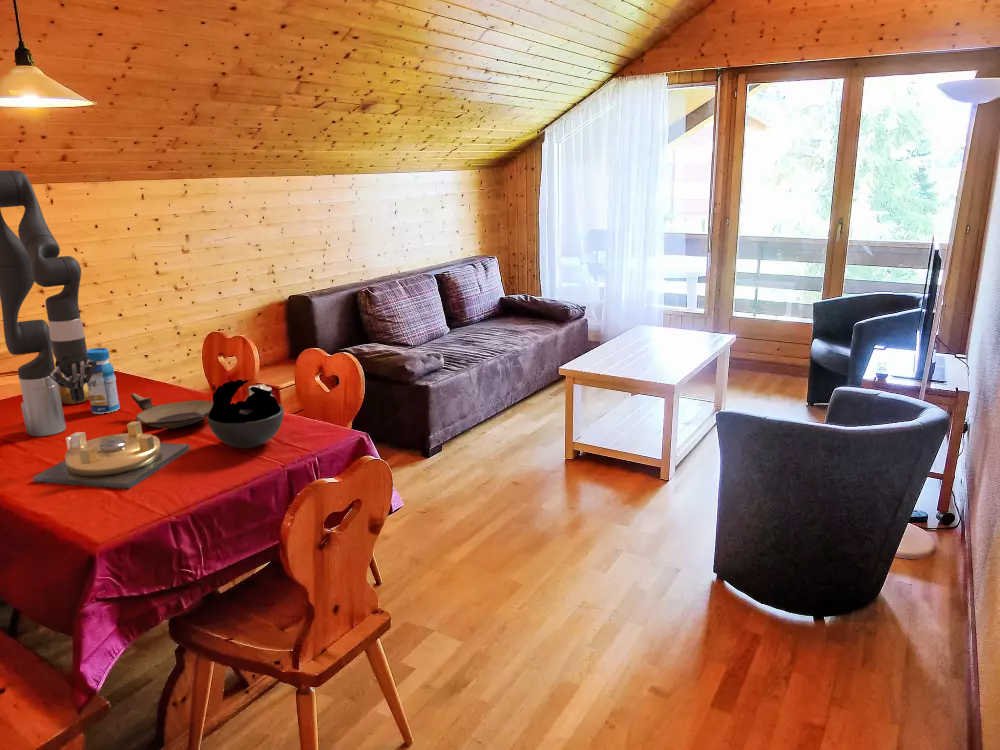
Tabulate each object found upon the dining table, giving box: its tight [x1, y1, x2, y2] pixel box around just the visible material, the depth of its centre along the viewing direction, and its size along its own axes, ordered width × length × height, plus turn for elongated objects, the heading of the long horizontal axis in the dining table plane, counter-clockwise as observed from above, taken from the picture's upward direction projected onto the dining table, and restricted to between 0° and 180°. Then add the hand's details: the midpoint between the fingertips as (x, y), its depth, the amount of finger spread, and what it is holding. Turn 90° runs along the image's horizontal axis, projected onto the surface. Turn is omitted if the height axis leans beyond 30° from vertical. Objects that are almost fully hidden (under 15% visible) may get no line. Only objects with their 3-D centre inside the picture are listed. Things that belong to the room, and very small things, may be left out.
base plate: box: [32, 436, 191, 490], centre depth 191 cm, size 26×26×8 cm
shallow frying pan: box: [130, 393, 214, 429], centre depth 223 cm, size 22×30×8 cm
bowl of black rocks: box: [206, 379, 285, 449], centre depth 202 cm, size 20×20×19 cm
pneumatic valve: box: [247, 383, 276, 399], centre depth 221 cm, size 6×12×12 cm, turn 32°
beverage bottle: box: [86, 347, 121, 415], centre depth 232 cm, size 8×8×20 cm
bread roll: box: [58, 383, 90, 405], centre depth 245 cm, size 13×10×8 cm
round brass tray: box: [64, 421, 161, 476], centre depth 190 cm, size 22×22×6 cm
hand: (78, 401), depth 190 cm, fingers closed
